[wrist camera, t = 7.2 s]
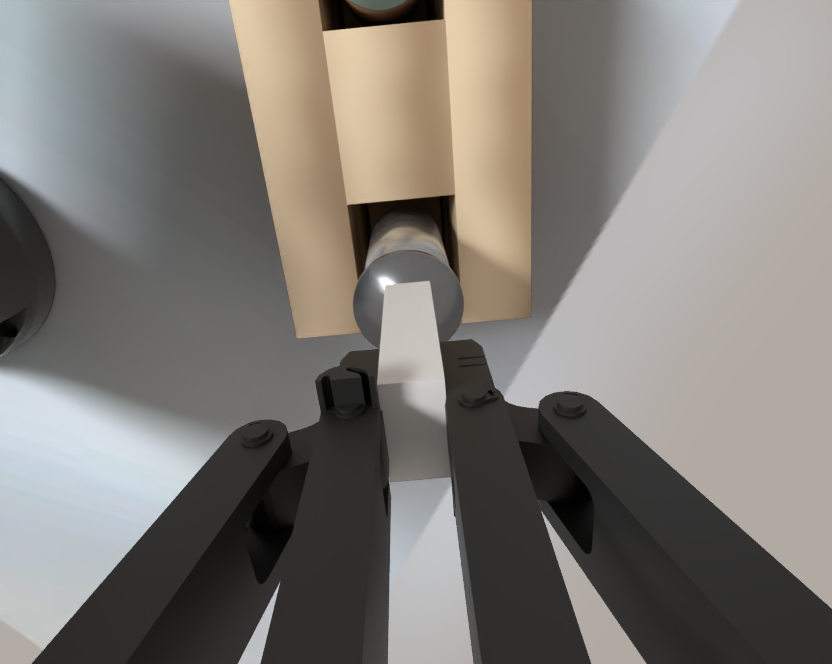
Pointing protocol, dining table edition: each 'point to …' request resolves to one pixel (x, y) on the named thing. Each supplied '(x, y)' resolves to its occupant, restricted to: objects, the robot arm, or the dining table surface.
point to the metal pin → (407, 271)
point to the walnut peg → (382, 11)
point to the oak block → (393, 144)
